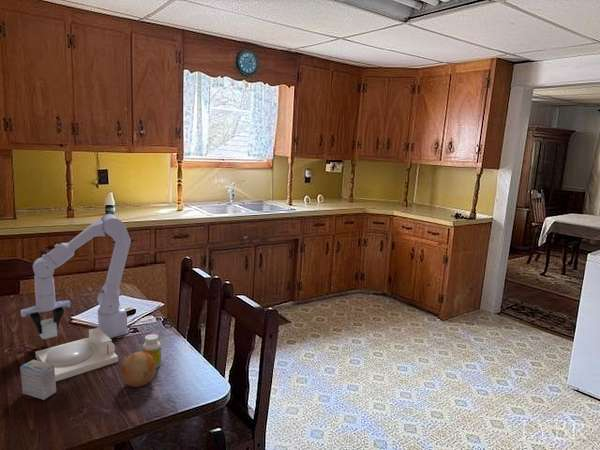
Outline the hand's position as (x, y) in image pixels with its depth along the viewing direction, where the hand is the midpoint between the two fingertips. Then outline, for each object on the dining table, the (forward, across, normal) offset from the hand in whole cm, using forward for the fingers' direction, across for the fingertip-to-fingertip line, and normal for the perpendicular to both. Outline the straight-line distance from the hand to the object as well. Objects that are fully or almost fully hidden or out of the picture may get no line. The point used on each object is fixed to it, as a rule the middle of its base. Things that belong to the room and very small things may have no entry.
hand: (47, 331), depth 149 cm
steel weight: (+2, 0, 0) cm, 2 cm away
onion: (+6, -13, +42) cm, 44 cm away
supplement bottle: (+6, -21, +34) cm, 40 cm away
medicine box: (+5, +10, +29) cm, 31 cm away
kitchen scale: (+5, -4, +16) cm, 17 cm away
